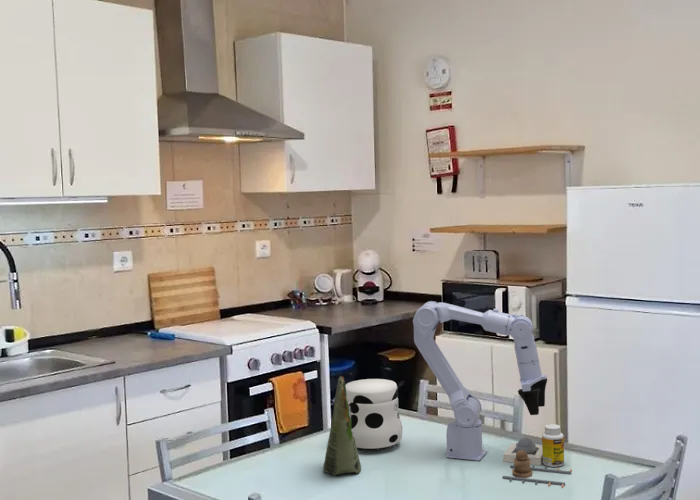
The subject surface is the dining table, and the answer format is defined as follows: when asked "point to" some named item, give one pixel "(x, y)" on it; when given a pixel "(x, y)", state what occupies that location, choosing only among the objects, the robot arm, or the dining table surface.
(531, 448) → the dome
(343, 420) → the green tall cone
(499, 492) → the dining table surface
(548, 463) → the supplement bottle
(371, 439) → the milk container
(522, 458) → the pawn
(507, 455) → the housing
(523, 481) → the track
